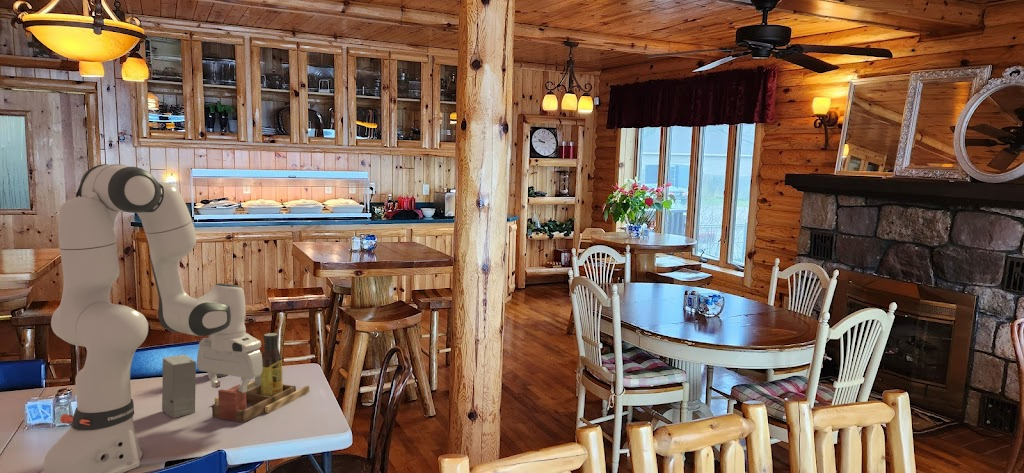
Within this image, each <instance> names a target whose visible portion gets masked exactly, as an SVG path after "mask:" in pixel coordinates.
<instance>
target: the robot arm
mask: <svg viewBox="0 0 1024 473" xmlns="http://www.w3.org/2000/svg"><path fill="white" fill-rule="evenodd" d="M184 199H185V198H184V197H183V195H182V194H181V192H180V191H179V189H178V188H177V186H175V185H174V184H172V183H170V182H165V181H164V182H163V181H158V180H157V179H156V178H155V177H154V176H153V175H152V174H151V173H150V172H148V171H147V170H145V169H143V168H141V167H137V166H130V165H129V166H128V165H125V164H121V163H111V164H107V163H106V164H105V163H104V164H97V165H95V166H92V167H90V168H89V169H88V170H86V171H85V173H83V176H82V177H81V179H80V181H79V187H78V189H77V191H76V193H75V197H73V198H70V199H69V200H66V201H65V202H63V203H62V204H61V206H60V208H59V211H58V218H57V219H58V222H57V223H58V224H57V226H58V227H57V229H58V230H57V232H58V233H57V234H58V244H59V251H60V252H59V253H60V254H59V255H60V259H61V267H62V275H63V277H62V278H63V289H62V296H61V299H60V300H61V301H60V303H59V306H58V307H57V308H56V309H55V310H54V312H53V313H52V316H51V319H50V320H51V321H50V326H51V329H52V332H53V333H54V335H56V337H58V338H60V339H61V340H63V341H64V342H67V343H68V344H70V345H74V346H79V347H84V348H85V349H86V359H85V362H84V365H83V368H81V369H80V370H79V371H78V372H77V374H76V375H75V393H76V394H75V395H76V408H75V411H74V412H73V415H72V414H67V413H63V414H62V415H61V416H60V418H59V421H60V423H61V424H62V423H63V424H65V425H66V424H67V425H68V424H69V425H70V427H69V429H68V430H66V432H65V433H63V435H62V436H61V437H60V438H59V439H58V440H57V441H56V442H55V443H54V444H53V445H52V446H51V448H49V450H48V451H47V452H46V454H45V456H44V461H43V462H44V463H43V470H42V471H40V472H39V473H126V472H128V471H131V470H134V469H136V468H138V467H140V465H141V462H140V461H141V460H140V459H141V458H142V456H143V451H142V450H141V448H140V445H139V441H138V438H137V435H136V434H137V433H136V429H135V423H134V418H133V417H134V415H135V405H134V399H133V398H132V392H131V368H132V362H133V359H134V356H135V352H136V351H137V349H138V348H139V347H140V346H141V345H142V344H144V341H145V340H146V338H147V336H148V334H149V322H148V320H147V318H146V317H145V315H144V314H143V313H141V312H140V311H137V310H136V309H134V308H132V307H130V306H127V305H123V304H118V303H112V302H111V290H112V287H113V283H114V282H115V281H116V280H117V279H118V278H119V276H120V273H121V272H120V263H119V256H118V255H119V254H118V249H117V241H116V240H117V239H116V235H115V229H114V228H115V221H116V218H117V216H118V214H119V213H131V214H137V216H138V218H139V220H140V221H141V224H142V227H143V231H144V233H145V236H146V240H147V243H148V247H149V259H150V265H151V270H152V275H153V279H154V283H155V287H156V290H157V295H158V314H157V315H158V321H159V323H160V325H161V326H162V328H164V329H165V330H167V331H169V332H171V333H173V332H174V333H182V334H187V335H190V336H197V337H203V338H202V339H200V341H199V343H198V351H197V357H196V368H197V369H198V371H200V372H206V373H207V376H208V379H209V380H210V383H211V388H213V389H218V388H220V386H221V380H220V379H218V377H217V376H216V374H217V373H218V374H224V375H227V376H231V377H238V378H240V379H241V380H240V381H241V384H239V385H240V386H238V389H239V390H238V391H239V392H242V393H244V392H246V391H247V385H248V383H250V382H251V380H252V379H253V380H254V379H255V378H256V377H259V376H260V375H261V373H262V352H261V350H260V349H261V348H262V342H261V340H260V339H257V338H256V337H254V336H252V335H250V334H249V333H248V332H247V329H246V324H245V318H246V314H247V311H246V309H247V308H246V296H245V291H244V289H243V288H242V287H241V286H240V285H237V284H232V283H225V282H224V283H223V282H222V283H221V282H219V283H215V284H214V285H213V287H212V288H211V289H210V290H209V291H207V292H206V293H205V294H203V295H202V296H199V297H197V298H196V297H192V296H190V295H189V294H188V293H187V292H186V291H185V289H184V286H183V281H182V277H181V272H180V266H179V265H180V264H179V263H180V260H181V259H183V258H184V257H186V256H188V255H189V254H190V253H191V252H192V251H193V249H194V248H195V246H196V244H197V233H196V228H195V225H194V222H193V219H192V216H191V213H190V211H189V208H188V206H187V204H186V202H185V200H184ZM209 335H211V339H209ZM207 336H208V337H207Z"/></svg>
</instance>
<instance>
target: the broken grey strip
mask: <svg viewBox="0 0 1024 473" xmlns="http://www.w3.org/2000/svg"><path fill="white" fill-rule="evenodd" d="M254 380H255V386H253V387H250V388H248V389H247V390H250V389H252V388H254V387H256V386H258V385H261V375H260V376H259V377H256V378H254Z"/></svg>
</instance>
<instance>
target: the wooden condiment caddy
mask: <svg viewBox="0 0 1024 473" xmlns="http://www.w3.org/2000/svg"><path fill="white" fill-rule="evenodd" d="M240 385H241V384H237V385H235V386H232V387H230V388H228V389H219V390H217V391H218V392H217V393H218V396H219V404H216V405H215V404H214V405H212V406H211V410H212V412H211V413H212V414H211V415H212V417H213V418H217V419H222V420H229V421H235V422H239V423H245V422H247V421H249V420H252V419H253V418H256V417H257V416H259V415H261V414H263V413H265V406H267V405H269V404H271V403H273V402H275V401H277V400H279V399H281V398H283V397H285V396H287V395H289V394H291V393H293V392H295V391H297V389H296V388H297V386H296V385H291V384H284V383H283V391H282V392H280V393H278V394H276V395H274V396H266V395H262V394H261V385H258V386H256V387H254V388H252V389H250V390H247V391H246V392H244V393H242V392H239V391H238V390H239V389H238V386H240ZM247 404H249V405H251V406H250V407H247Z"/></svg>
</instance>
